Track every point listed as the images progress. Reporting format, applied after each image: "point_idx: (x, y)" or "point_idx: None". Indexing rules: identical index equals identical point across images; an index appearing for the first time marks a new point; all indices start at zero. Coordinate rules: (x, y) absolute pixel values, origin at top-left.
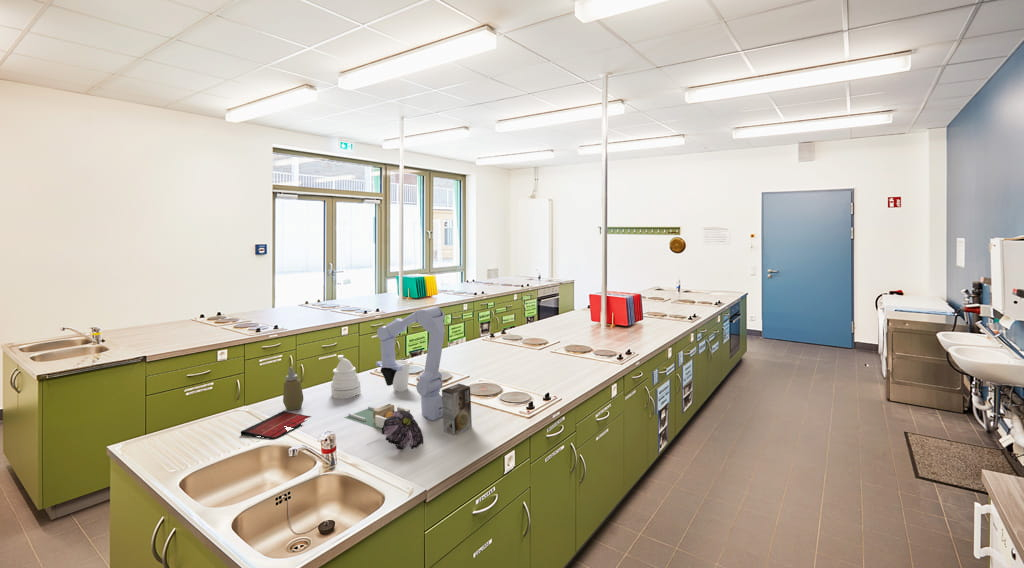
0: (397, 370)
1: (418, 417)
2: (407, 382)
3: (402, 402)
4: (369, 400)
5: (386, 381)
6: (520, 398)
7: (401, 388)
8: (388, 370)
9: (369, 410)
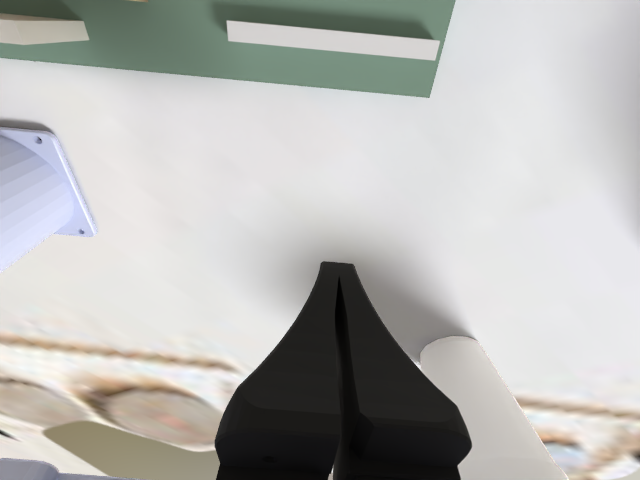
0: (17, 474)
1: (30, 120)
2: None
3: (319, 251)
4: (538, 200)
5: (346, 287)
6: (9, 402)
7: (434, 353)
8: (242, 448)
9: (397, 11)
